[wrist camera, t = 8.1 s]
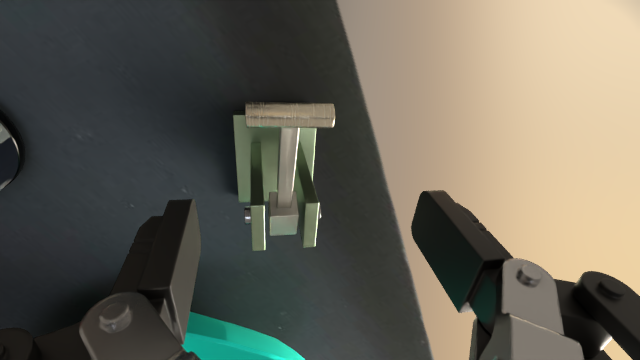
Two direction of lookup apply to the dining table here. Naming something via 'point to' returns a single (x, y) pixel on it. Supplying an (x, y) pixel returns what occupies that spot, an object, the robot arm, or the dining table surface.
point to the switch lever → (287, 152)
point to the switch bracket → (273, 177)
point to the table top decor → (232, 341)
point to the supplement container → (10, 151)
